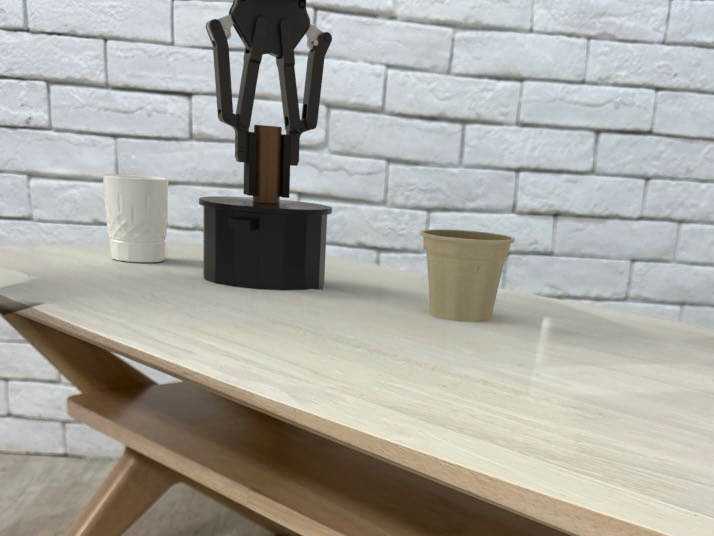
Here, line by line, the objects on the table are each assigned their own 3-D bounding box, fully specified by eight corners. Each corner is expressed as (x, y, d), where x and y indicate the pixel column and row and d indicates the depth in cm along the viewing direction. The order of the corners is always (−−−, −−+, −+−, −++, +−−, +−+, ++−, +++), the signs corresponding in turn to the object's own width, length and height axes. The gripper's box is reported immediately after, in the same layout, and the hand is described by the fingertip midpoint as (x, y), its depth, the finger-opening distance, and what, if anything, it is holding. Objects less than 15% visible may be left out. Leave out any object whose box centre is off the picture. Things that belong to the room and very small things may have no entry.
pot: (177, 290, 107) (176, 207, 104) (233, 270, 125) (234, 199, 121) (300, 302, 105) (303, 219, 102) (339, 281, 123) (343, 209, 120)
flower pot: (437, 330, 96) (445, 238, 93) (399, 313, 104) (405, 227, 101) (521, 330, 100) (532, 241, 97) (478, 313, 108) (487, 230, 105)
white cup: (181, 262, 128) (181, 180, 124) (127, 264, 122) (125, 178, 119) (146, 254, 133) (145, 175, 129) (93, 256, 127) (90, 173, 123)
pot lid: (178, 211, 106) (178, 118, 103) (224, 204, 120) (224, 122, 116) (313, 224, 104) (317, 129, 101) (344, 216, 118) (348, 132, 115)
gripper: (198, -61, 96) (199, 194, 105) (357, -38, 102) (345, 202, 111) (185, -51, 103) (187, 189, 112) (335, -30, 109) (326, 197, 117)
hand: (266, 195), depth 111 cm, fingers open, 3 cm apart
